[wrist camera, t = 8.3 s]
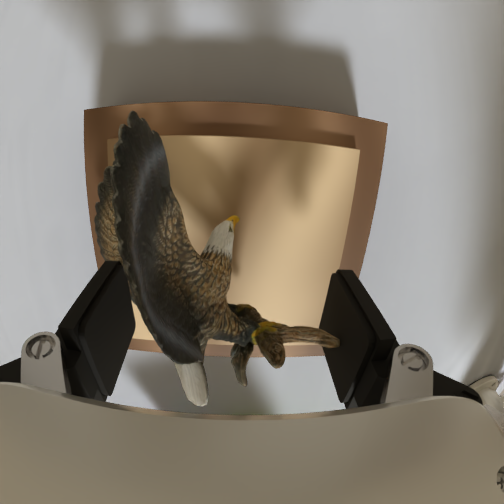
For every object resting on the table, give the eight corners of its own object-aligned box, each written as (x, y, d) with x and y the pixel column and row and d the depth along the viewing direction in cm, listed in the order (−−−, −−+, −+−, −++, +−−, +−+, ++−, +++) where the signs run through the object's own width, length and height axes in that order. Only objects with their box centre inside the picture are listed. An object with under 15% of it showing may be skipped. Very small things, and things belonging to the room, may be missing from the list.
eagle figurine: (354, 248, 11) (188, 61, 7) (323, 435, 7) (-11, 280, 3) (228, 279, 16) (96, 173, 12) (183, 402, 12) (9, 306, 8)
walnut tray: (359, 120, 15) (392, 124, 11) (322, 321, 21) (337, 360, 17) (112, 109, 14) (79, 110, 10) (131, 314, 20) (115, 352, 16)
